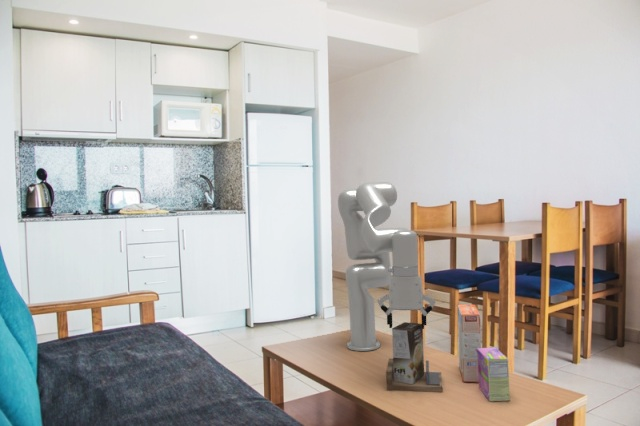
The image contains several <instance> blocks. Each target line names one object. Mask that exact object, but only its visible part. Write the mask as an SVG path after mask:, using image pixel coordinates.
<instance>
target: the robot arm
mask: <svg viewBox="0 0 640 426" xmlns="http://www.w3.org/2000/svg"><path fill="white" fill-rule="evenodd" d="M337 198H338V199H337V207H338V211H339V215H340V217H341V219H342V222H343V227H344V235H345V245H346V253H347V257H348V258H349V259H350V260H353V261H365V260H374V261H375V262H365V263H355V264H351V265H349V266H348V267H347V268H346V269H345V276H344V277H345V281H346V286H347V293H348V307H349V328H350V341H347V343H346V347H347V349H348V350H350V351H355V352H369V351H375V350H377V349H379V348H381V343H380V341H378V340H376V339H377V338H376V317H375V316H376V314H375V299H374V298H373V295H371V294H370V292H369V291H368V289H374V288H375V289H377V288H385V287H388V294H386V295H384V296H381V297H380V298H378V299H377V304H378V305H379V307H380V309H381V311H383V312H384V313H385V315H386V324H387V325H388V326H389V329H392V328H393V313H392V312H393V311H420V313H421V324H422V329H423V330H424V329H425V326H427V316H428V314H429V313H430V312H431V311H432V310H433V308H434V306H435V305H436V300H435V299H434V298H432V297H430V296H428V295H426V294H424V290H423V282H422V281H423V280H422V277H421V275H420V274H419V266H418V265H419V263H418V262H419V261H418V259H419V257H418V255H419V254H418V253H419V252H418V234H417V232H416V231H414V230H409V229H408V228H406V227H389V228H388V227H387V228H377V227H379V226H380V225H383V224H384V223H385V222H387V220H388V219H389V218H390V216H391V213H392V210H391V207H392V206H394V205H395V204H396V202H397V199H398V191H397V189H396V187H395V185H393V183H390V182H387V181H386V182H384V181H383V182H382V181H381V182H366V183H363V184H360V185H359V186H358V187H357V188H350V189H346V190H343V191H341V192H340V193H339V195H338V197H337ZM359 212H363V213H364V215H365V217H363V216H362V215H361V214H360V213H359ZM390 253H391V256H392V266H391V258H390ZM386 301H388V306H389V307H387V306H386V305H385V304H384V302H386ZM424 301H426V302H428V303H429V304H428V305H427V306H426V308H425V307H424Z"/></svg>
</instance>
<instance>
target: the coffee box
mask: <svg viewBox="0 0 640 426" xmlns="http://www.w3.org/2000/svg"><path fill="white" fill-rule="evenodd" d="M391 331H392V332H391V334H392V359H393V369H394V381H396V382H402V383H407V384H414V383H415V382H416V381H417V380H419V379H420V378H421V377H422V376H424V372H425V364H424V363H425V361H424V360H425V359H424V358H425V357H424V329H422V323H419V322H418V323H417V322H405V321H404V322H402V323H400V324H399V325H396V326H395V327H392V328H391Z"/></svg>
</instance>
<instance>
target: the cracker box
mask: <svg viewBox="0 0 640 426" xmlns="http://www.w3.org/2000/svg"><path fill="white" fill-rule="evenodd" d="M457 321H458V325H457V326H458V329H457V330H458V359H459V360H458V361H459V362H458V365H459V371H460V375H461V376H460V377H461V380H462V382H463V383H479V376H478V357H477V348H482V344H481V343H482V342H481V341H482V338H481V314H480V312H479V310H478V308H477V306H476V304H458V305H457Z"/></svg>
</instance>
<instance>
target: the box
mask: <svg viewBox="0 0 640 426" xmlns="http://www.w3.org/2000/svg"><path fill="white" fill-rule="evenodd" d="M477 357H478V376H479V382H478V388H479V389H480V391H481V392H482V393H483V395H484V396H485V397H486V398H487V400H488V401H489V402H509V401H510V376H509V375H510V374H509V373H510V372H509V371H510V370H509V369H510V368H509V358H508V357H507V356H506V355H505V354H503V352H501V351H500V350H499V349H498V348H497V347H481V348H477Z"/></svg>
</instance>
